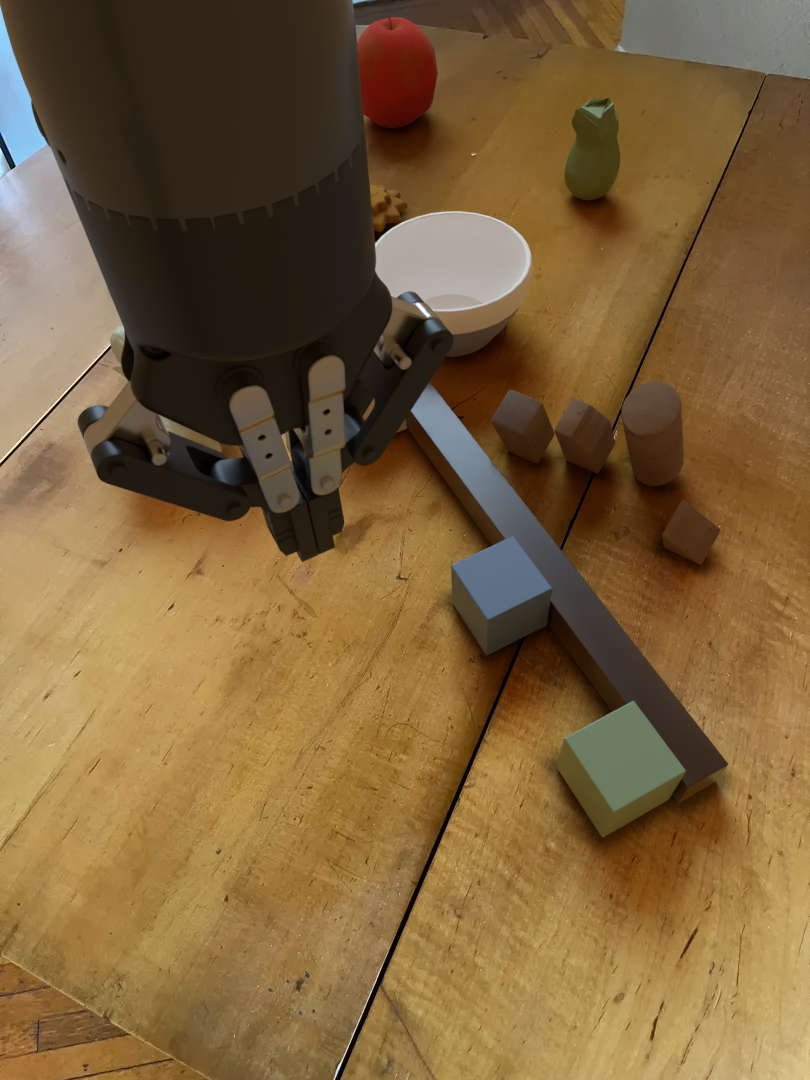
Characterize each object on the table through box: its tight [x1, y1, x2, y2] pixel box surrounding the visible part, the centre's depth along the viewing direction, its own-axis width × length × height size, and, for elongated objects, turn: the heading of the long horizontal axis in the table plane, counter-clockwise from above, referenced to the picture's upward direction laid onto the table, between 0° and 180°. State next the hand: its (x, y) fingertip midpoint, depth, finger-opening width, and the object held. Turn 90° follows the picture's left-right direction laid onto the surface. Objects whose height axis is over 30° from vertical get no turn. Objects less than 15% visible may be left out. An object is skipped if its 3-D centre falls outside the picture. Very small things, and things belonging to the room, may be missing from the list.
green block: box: [556, 701, 686, 838], centre depth 49 cm, size 5×5×5 cm
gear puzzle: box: [370, 184, 408, 233], centre depth 86 cm, size 31×16×4 cm, turn 96°
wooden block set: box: [490, 380, 721, 566], centre depth 61 cm, size 18×9×10 cm, turn 53°
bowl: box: [375, 210, 533, 358], centre depth 74 cm, size 14×14×8 cm
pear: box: [563, 96, 621, 201], centre depth 84 cm, size 6×5×10 cm
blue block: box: [450, 536, 552, 656], centre depth 57 cm, size 5×5×5 cm
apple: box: [357, 15, 439, 129], centre depth 95 cm, size 10×10×12 cm
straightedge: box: [406, 381, 729, 804], centre depth 60 cm, size 3×38×3 cm, turn 27°
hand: (310, 539), depth 34 cm, fingers closed
